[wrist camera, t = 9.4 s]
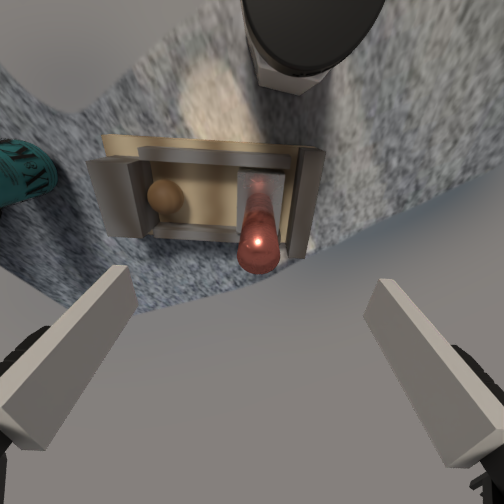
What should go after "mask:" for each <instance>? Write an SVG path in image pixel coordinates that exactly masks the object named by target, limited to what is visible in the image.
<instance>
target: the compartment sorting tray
mask: <svg viewBox="0 0 504 504" xmlns="http://www.w3.org/2000/svg"><path fill="white" fill-rule="evenodd" d="M101 136H102V140H103V144H104V148H105V152H106V156H107V157H104V158H99V159H94V160H90V161H85V162H86V165H87V168H88V172H89V175H90V178H91V182H92V185H93V188H94V192H95V195H96V198H97V202H98V205H99V208H100V211H101V215H102V218H103V221H104V225H105V228H106V231H107V235H108V236H111V237H128V238H144V237H145V236H146V235H147V234H151V235H154V238H167V239H183V240H200V241H216V242H233V243H239V241H240V235H241V233H236V228H237V174H238V170H239V168H240V167H243V168H259V169H276V170H283V171H284V174H285V181H284V190H283V198H282V206H281V214H280V222H279V231H278V235H277V237H278V244H279V245H280V242H283V243H285V244H286V249H287V253H288V258H300V259H305V255H306V250H307V245H308V240H309V235H310V230H311V225H312V220H313V215H314V210H315V205H316V200H317V195H318V190H319V185H320V180H321V175H322V170H323V165H324V160H325V155H326V152H325V151H323V150H320V149H318V148H316V147H313V146H298V145H282V144H265V143H248V142H232V141H215V140H198V139H182V138H165V137H148V136H132V135H115V134H109V135H101ZM162 179H166V180H171V181H173V182H175V183H176V184H177V185H178V186H179V187H180V188H181V189H182V191H183V194H184V203H183V206H182V207H181V209H180V210H179V211H178V212H176V213H174V214H170V215H164V214H160V213H158V212H156V211H155V210H154V209H153V208H152V207H151V206H150V204H149V202H148V198H147V193H148V190H149V187H150V186H151V185H152V184H153V183H154V182H156V181H158V180H162Z"/></svg>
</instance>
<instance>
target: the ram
mask: <svg viewBox="0 0 504 504" xmlns="http://www.w3.org/2000/svg"><path fill="white" fill-rule="evenodd" d="M284 181H285V174H284V171H283V170H276V169H259V168H243V167H240V168H239V170H238V174H237V228H236V233H241V235H240V241H239V246H238V252H237V259H238V262H239V264H240V266H241V267H242V268H243V269H244V270H246V271H247V272H249V273H253V274H265V273H268V272H270V271H272V270H273V269H274V268H275V267H276V266H277V265H278V263H279V261H280V250H279V244H278V237H277V235H278V231H279V222H280V214H281V206H282V198H283V190H284Z"/></svg>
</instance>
